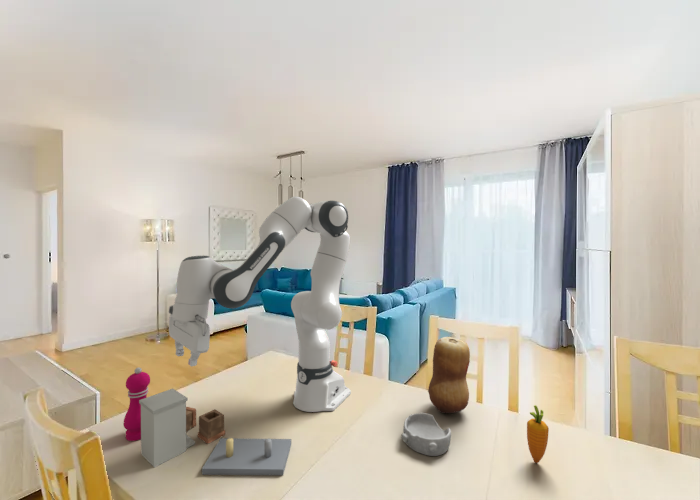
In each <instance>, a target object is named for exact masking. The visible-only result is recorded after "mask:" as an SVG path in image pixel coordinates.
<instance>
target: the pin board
mask: <svg viewBox="0 0 700 500" xmlns="http://www.w3.org/2000/svg"><path fill="white" fill-rule="evenodd" d="M291 447H292V439H291V438H237V437H234V438H233V437H227V438H226V437H220V438H219V441H218V442H217V444H216V445H215V447H214V448H213V450H212V452H211V453H210V455H209V456H208V458H207V460H206V461H205V463H204V464H203V466H202V469H201V475H204V476H205V475H214V476H215V475H217V476H218V475H222V476H223V475H224V476H228V475H229V476H284V474H285V470H286V466H287V462H288V458H289V455H290V450H291Z"/></svg>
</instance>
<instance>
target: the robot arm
mask: <svg viewBox="0 0 700 500" xmlns="http://www.w3.org/2000/svg"><path fill="white" fill-rule="evenodd" d="M348 222H349V211H348V209H347V207H346V205H344V204H343V203H342V202H340V201H337V200H322V201H318V202H314V203H309V202H308V201H307V200H306V199H304V198H303V197H300V196H292V197H290V198H288V199H287V200H285V201H284V202H283V203H281V204H280V205H278V207H276V208H275V209H274V210H273V211H272V212H271V213H270V214H269V215H268V216H267V217H266V219H265V220H264V221H263V222H262V224H261V225H260V227H259V228H258V229H259V230H258V236H259V242H258V244H257V246H256V248H255V249H254V250H253V251H252V252H251V253H250V254H249V255H248V257H247V258H246V259H245V260H244V262H243V263H242V264H240V265H239V266H238V267H237V268H235V269H233V268H230V267H227V266H225V265H222V264H220V263H219V262H217V261H216V260H214V259H213V258H212V257H211V256H209V255H195V256H194V255H193V256H188V257H185V258H184V259H183V260H182V261H181V262H180V265H179V267H178V274H177V278H176V279H177V280H176V291H177V293H176V296H175V299H174V303H173V304H172V305H169V307H168V314H169V319H168V335H169V337H170V338H172V339H173V340H174V345H175V346H174V347H175V356H177V357H183V356H184V354H185V349H184V348H187V349H188V350H189V351H190V358H188V362H187V364H188V365H189V367H195V366H197V365H198V359H199V357H200V356H201V354H203V353H204V354H205V353H207V352H208V351H209V349H210V339H211V338H210V337H211V336H210V335H211V332H210V331H211V330H210V329H211V328H210V325H209V324H208V323H207V321H206V320H207V319H208V313H209V304H210V300H213V299H215V300H216V302H217V303H218V304H219V306H221V307H223V308H226V309H238V308H240V307H243V306H244V305H246V304H247V303H248V302H249V300H250V299H251V298H252V295H253V293H254V290H255V288H256V286H257V283H259V280H260V279H261V278H262V276H263V275H264V274H265V273H266V272H267V270H268V269H269V268H270V267H271V265H272V264H273V263H274V262H275V260H277V258H278V257H279V255H280V254H281V253H282V252H283V251H284V250H285V248H287V247H288V246H289V245H290V244H291V242H293V240H295V239H296V237H297V236H298V235H299V234H300V233H301V232H302V230H306V231H308V232H311V233H317V234H318V233H319V235H320V236H319V237H320V241H319V242H320V244H319V246H318V249H317V252H316V254H315V257H314V259H313V260H314V261H313V264H312V267H311V270H310V278H311V290H305V291H300V292H298V293H296V294H294V295H293V297H292V300H291V302H290V307H291V311H292V313H293V316H294V322H295V327H296V334H297V341H298V361H297V366H296V374H297V375H296V383H295V391H293V404H292V405H293V406H294V407H295V409H297V410H299V411H303V412H308V413H312V412H313V413H317V412H334V411H335V410H336V409H337V408H338V407H339V406H340V405H341V404H342V403H343V402H344V401H345V400H346V399H347V398H348V397H349V396H350V395H351V393H352V390H351V389H350V388H349V387H347V386H346V384H345V380H344V376H342V375H341V374H339V373H338V372H336V371H335V370H333V368H336V367H337V366H338V361H337V360H334V359H332V360H330V359H331V358H330V356H331V355H330V353H331V352H330V351H331V342H330V338H329V336H328V334H327V331H328V330H333V329H335V328H336V327H337V326H338V325H339V323H340V322H341V320H342V317H343V311H342V308H341V305H340V286H341V279H342V277H343V273H344V270H345V266H346V263H347V259H348V256H349V252H350V251H349V250H350V243H351V235H350V234H349V233H348V232H347V230H348V226H349V225H348V224H349V223H348Z"/></svg>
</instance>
